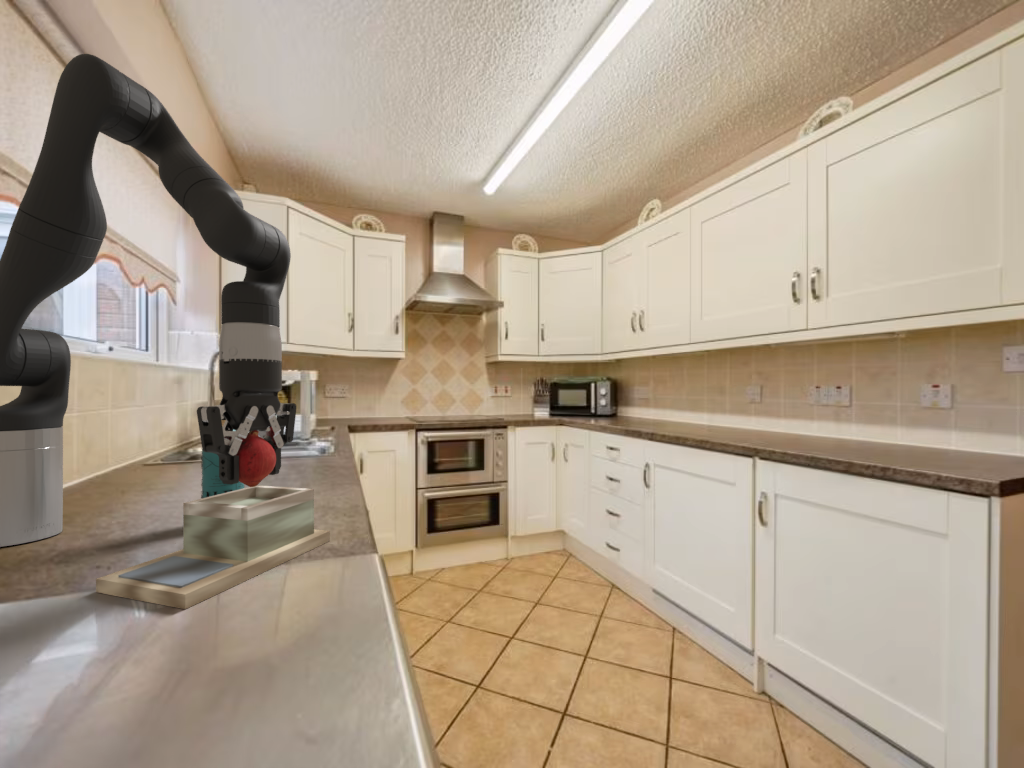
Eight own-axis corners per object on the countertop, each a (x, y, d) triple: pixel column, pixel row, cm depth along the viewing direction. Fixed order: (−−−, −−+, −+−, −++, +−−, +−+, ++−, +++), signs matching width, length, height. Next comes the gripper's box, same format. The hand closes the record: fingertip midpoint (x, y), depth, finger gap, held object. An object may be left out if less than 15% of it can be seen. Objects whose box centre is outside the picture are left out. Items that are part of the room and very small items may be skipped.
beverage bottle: (240, 514, 79) (240, 406, 80) (250, 522, 75) (249, 407, 75) (197, 522, 75) (197, 408, 75) (204, 531, 70) (204, 408, 70)
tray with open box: (96, 592, 48) (96, 520, 49) (257, 533, 68) (257, 482, 69) (185, 609, 44) (185, 531, 44) (329, 540, 64) (329, 487, 64)
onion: (253, 492, 56) (253, 431, 57) (216, 491, 58) (216, 431, 58) (285, 483, 62) (284, 427, 62) (251, 482, 63) (250, 427, 63)
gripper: (273, 362, 68) (273, 468, 68) (178, 355, 54) (178, 488, 54) (311, 360, 66) (312, 470, 66) (222, 353, 52) (223, 492, 52)
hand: (251, 478), depth 60 cm, fingers closed on onion, 6 cm apart
